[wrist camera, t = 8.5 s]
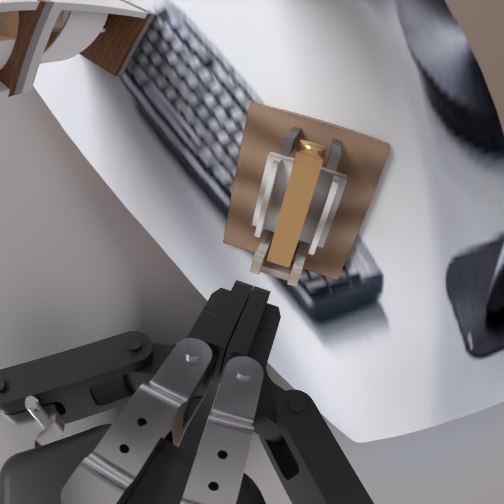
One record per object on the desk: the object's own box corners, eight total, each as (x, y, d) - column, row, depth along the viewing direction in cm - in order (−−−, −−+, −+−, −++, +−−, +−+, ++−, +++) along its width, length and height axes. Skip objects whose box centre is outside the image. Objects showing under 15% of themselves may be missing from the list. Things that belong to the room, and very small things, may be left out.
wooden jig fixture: (252, 102, 38) (230, 109, 30) (388, 143, 36) (400, 160, 28) (226, 237, 49) (204, 268, 42) (337, 274, 47) (334, 311, 40)
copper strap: (301, 137, 33) (299, 140, 31) (327, 145, 32) (326, 148, 31) (268, 255, 41) (266, 261, 40) (290, 262, 41) (288, 269, 40)
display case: (79, 47, 38) (-118, 96, 9) (106, -8, 32) (-104, 1, 3) (122, 74, 39) (-103, 142, 10) (155, 14, 33) (-92, 18, 4)
